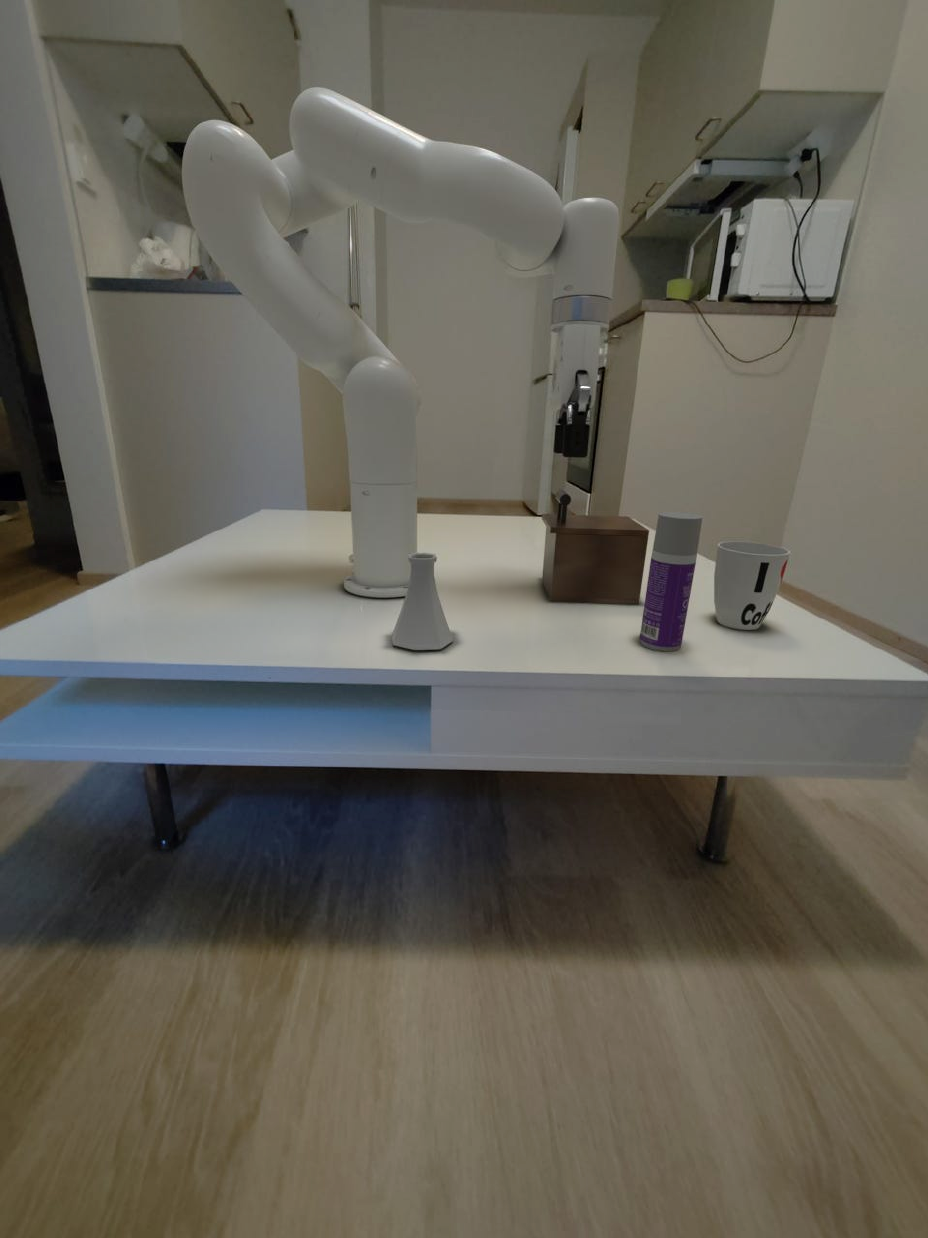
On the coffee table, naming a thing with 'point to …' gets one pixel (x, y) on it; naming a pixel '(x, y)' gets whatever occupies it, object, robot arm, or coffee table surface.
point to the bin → (594, 567)
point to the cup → (747, 582)
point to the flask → (422, 609)
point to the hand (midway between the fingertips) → (569, 455)
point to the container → (670, 580)
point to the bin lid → (589, 522)
